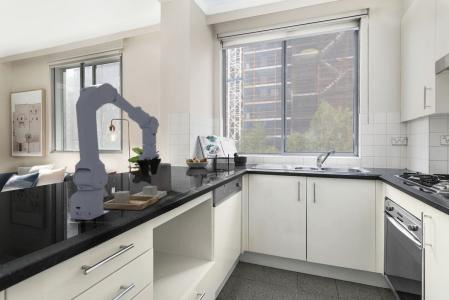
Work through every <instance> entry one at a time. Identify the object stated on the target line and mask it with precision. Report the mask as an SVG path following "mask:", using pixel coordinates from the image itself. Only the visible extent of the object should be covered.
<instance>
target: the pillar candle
mask: <svg viewBox="0 0 449 300" xmlns="http://www.w3.org/2000/svg"><path fill="white" fill-rule="evenodd" d="M150 176H151V177H150V178H151V179H150V180H151V182H150V184H151V185H150V186H157V191H167V193H169V192H172V164H171V163H170V162H168V163H167V162H160V163H159V166H158V170H157V174H156V175H152V174H151V173H150Z"/></svg>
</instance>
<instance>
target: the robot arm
mask: <svg viewBox="0 0 449 300" xmlns="http://www.w3.org/2000/svg"><path fill="white" fill-rule="evenodd" d="M118 92H119V91H118V89H117V88H116V87H114V86H113V85H112V84H110V83H108V82H104V83H100V84H94V85H93V84H92V85H86V86H85V87H83V88H81V89H80V90H79V96H78V99H77V101H76V103H75V111H76V114H75V115H76V125H77V126H76V127H77V138H78V139H77V140H78V149H79V151H78V152H79V161H78V162H76V164H75V165H74V173H73V175H72V181H73V183H74V184H75V185H76V186H77V187H76V188H77V191H76V192H73V193H72V195H71V196H70V199H69V215H70V216H69V217H67V219H69V220H83V221H84V220H85V221H86V220H87V221H90V220H93V219H95V218H97V217H100V216H102V215H104V214H105V215H106V214H107V213H109V212H110V210H105V208H104V206H103V203H104V198H103V188H104V187H105V186H106V185H107V184H108V182H109V175H108V172H107V169H106V166H105V164H104V162H103V161H102V160H101V159H100V150H99V138H98V137H99V136H98V123H97V111H98V110H99V109H100V108H101V107H103V106H104V105H107V104H112V105H114V106H116V107H117V108H119V109H120V110H122V111H124V112H125V113H127V116H128V118H129V119H131V121H133V122H135V123H136V124H137V125H138V126H139V128H140V130H141V131H142V132H141V138H142V141H141V142H142V145H141V147H142V150H141V151H142V152H141V153H142V154H139V155H138V159H136V163H137V164H138V167H139V169H140V171H141V175H142V178H148V177H149V175H151V174H152V175H156V174H157V170H158V166H159V163H161V162H162V158H160V153H157V134H158V129H159V127H160V123H159V120H158V119H157V118H156V117H155V116H153V115H150V114H149V112H146V111H145V110H144V109H142V107H141V106H139V105H134V106H133V105H132V104H131V102H129V100H127V99H126V98H125V97H123V96H122V95H121V94H120V93H118ZM149 172H150V174H149Z"/></svg>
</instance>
